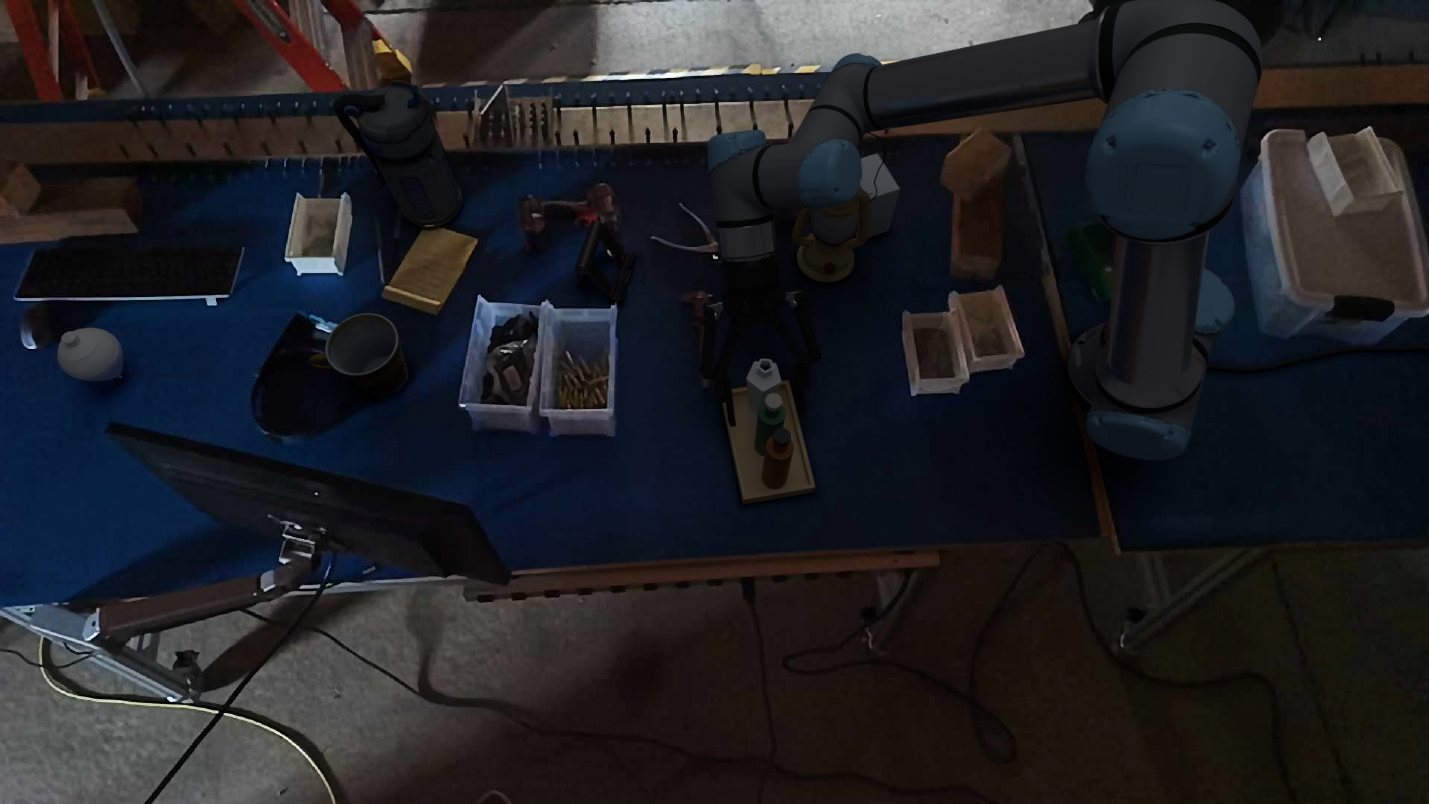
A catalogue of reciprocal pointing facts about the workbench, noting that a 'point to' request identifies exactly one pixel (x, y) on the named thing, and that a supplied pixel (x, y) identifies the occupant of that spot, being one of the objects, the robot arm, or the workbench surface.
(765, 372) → the perfume bottle
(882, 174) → the small box
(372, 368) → the ceramic cup
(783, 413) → the green bottle
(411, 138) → the beverage bottle
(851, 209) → the lantern
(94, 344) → the spinning top
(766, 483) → the amber bottle
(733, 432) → the tray
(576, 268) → the tablet stand
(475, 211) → the workbench surface
